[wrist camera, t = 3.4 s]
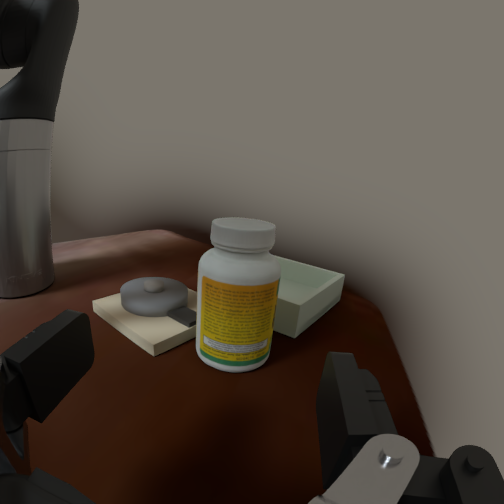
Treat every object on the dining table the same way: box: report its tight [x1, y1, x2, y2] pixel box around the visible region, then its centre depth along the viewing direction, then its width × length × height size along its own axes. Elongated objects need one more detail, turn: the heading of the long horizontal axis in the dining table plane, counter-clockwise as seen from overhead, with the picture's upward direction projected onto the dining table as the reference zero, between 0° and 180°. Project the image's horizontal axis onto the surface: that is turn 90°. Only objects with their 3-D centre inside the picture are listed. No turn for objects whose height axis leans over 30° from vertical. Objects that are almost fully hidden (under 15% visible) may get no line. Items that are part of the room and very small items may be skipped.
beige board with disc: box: [93, 277, 197, 356], centre depth 26 cm, size 9×9×3 cm
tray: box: [273, 255, 345, 338], centre depth 32 cm, size 11×11×3 cm
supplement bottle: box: [196, 217, 281, 373], centre depth 21 cm, size 5×5×10 cm
